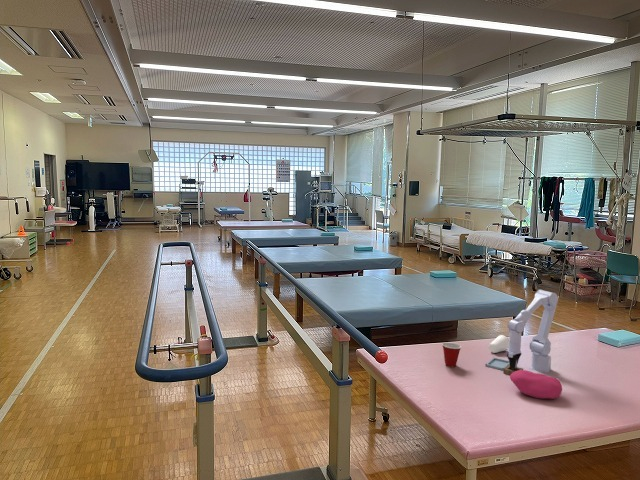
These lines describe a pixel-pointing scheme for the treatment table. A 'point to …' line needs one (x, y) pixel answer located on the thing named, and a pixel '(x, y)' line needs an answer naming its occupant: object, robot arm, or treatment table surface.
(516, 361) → the dowel
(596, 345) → the treatment table surface
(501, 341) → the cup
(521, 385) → the cushion
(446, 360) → the plastic cup
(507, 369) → the socket block
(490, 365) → the tray
